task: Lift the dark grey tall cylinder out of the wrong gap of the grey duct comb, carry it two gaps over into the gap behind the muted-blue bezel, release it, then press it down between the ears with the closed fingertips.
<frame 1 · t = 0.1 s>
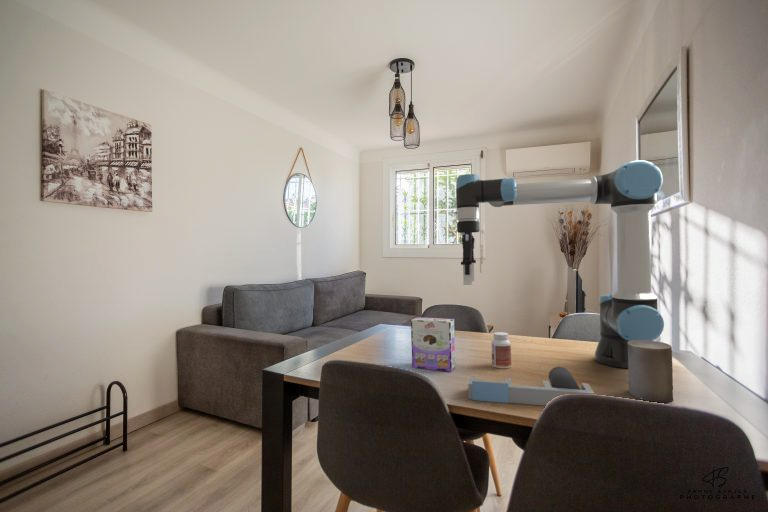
hand: (469, 283, 129), 28 cm above the table, fingers open, 13 cm apart
pillar candle: (649, 396, 100), on the table
pill bottle: (501, 366, 127), on the table
duct comb: (528, 402, 97), on the table
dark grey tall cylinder: (563, 395, 101), on the table
candy box: (433, 368, 128), on the table
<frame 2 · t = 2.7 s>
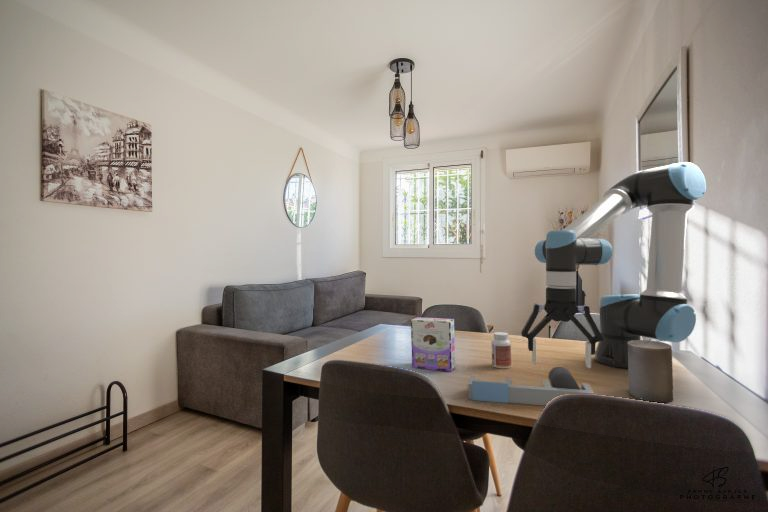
hand: (560, 364, 104), 7 cm above the table, fingers open, 13 cm apart
nothing on the table moved.
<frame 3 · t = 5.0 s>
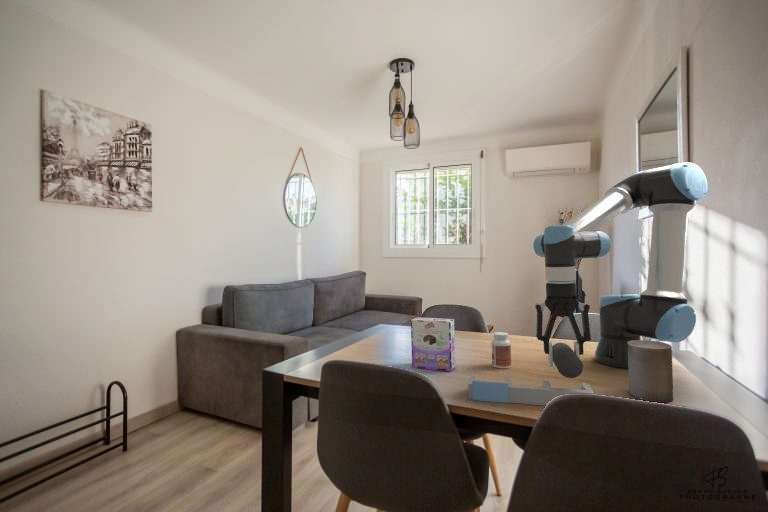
hand: (563, 365, 104), 7 cm above the table, fingers closed on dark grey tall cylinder, 6 cm apart
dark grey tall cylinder: (565, 370, 102), point 7 cm above the table, touching gripper
everything else where it was.
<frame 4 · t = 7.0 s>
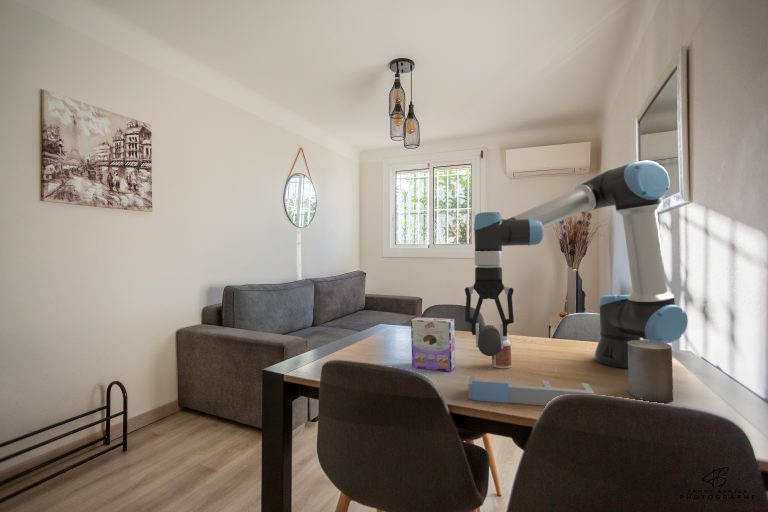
hand: (489, 346, 109), 11 cm above the table, fingers closed on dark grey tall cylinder, 6 cm apart
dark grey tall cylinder: (489, 350, 106), point 11 cm above the table, touching gripper
everything else where it was.
when the fingers open (0 cm above the table, at t = 9.3 s): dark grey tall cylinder stays where it is, on the table.
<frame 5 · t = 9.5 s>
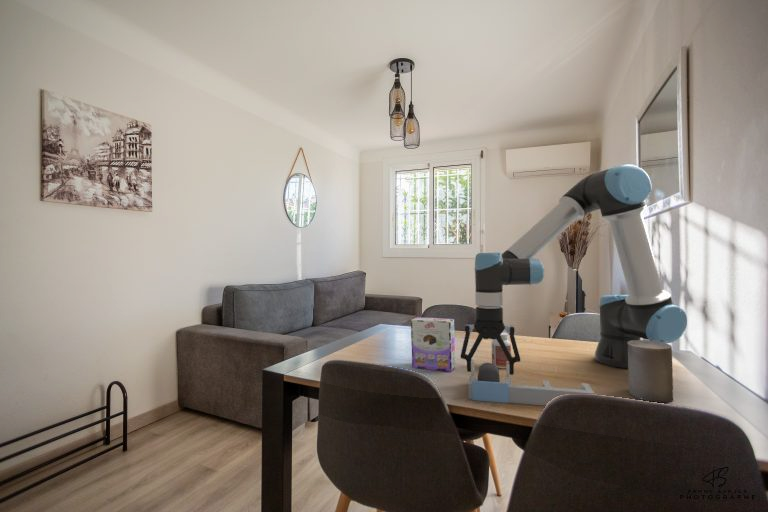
hand: (490, 384, 109), 1 cm above the table, fingers open, 9 cm apart
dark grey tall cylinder: (489, 390, 107), on the table, tilted 7°
everything else where it was.
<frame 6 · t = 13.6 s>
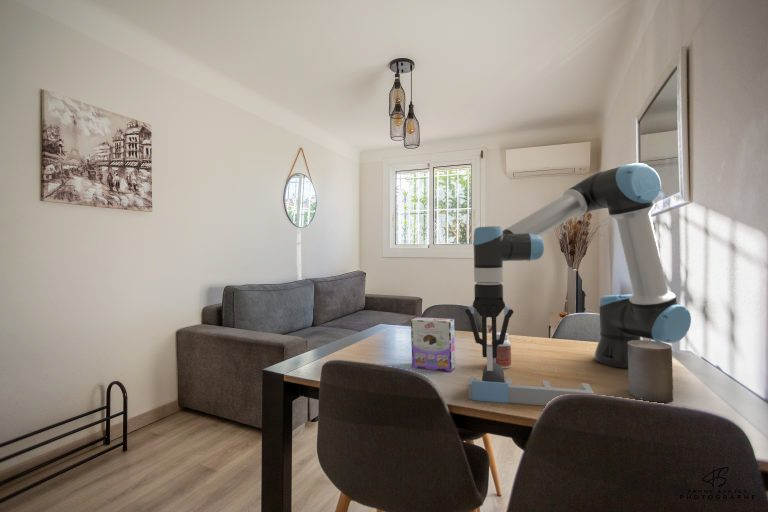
hand: (489, 369, 104), 7 cm above the table, fingers closed
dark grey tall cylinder: (489, 389, 107), on the table, tilted 20°
everything else where it was.
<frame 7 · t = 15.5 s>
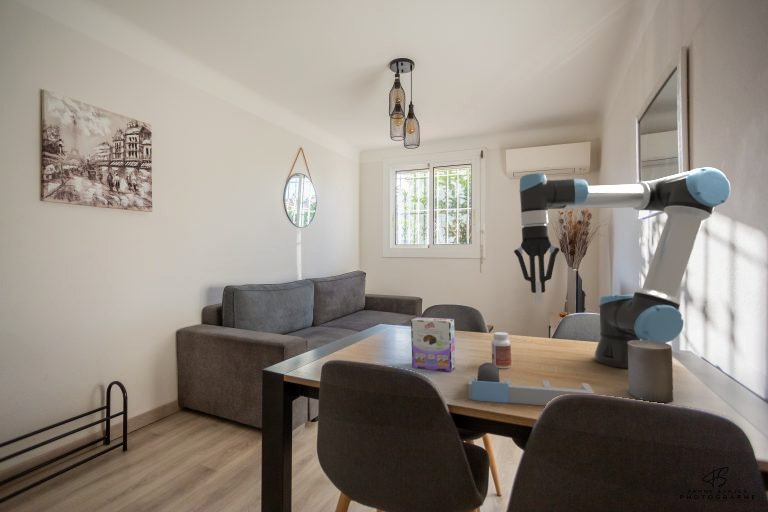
hand: (538, 303, 115), 23 cm above the table, fingers closed
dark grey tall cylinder: (489, 390, 107), on the table, tilted 7°
everything else where it was.
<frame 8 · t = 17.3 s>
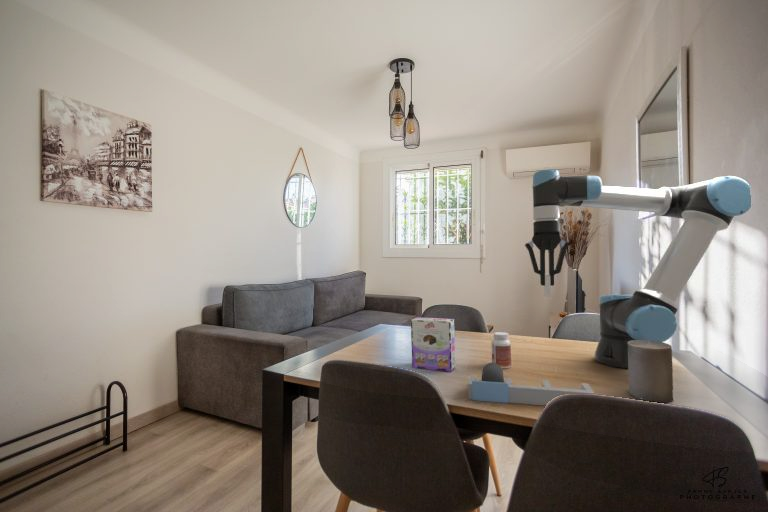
hand: (547, 296, 118), 24 cm above the table, fingers closed
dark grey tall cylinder: (489, 389, 107), on the table, tilted 16°
everything else where it was.
at the end: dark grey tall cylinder inside the target area on the table beside the duct comb (0.3 cm from its centre), on the table; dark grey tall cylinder on the table; the gripper is holding nothing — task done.
